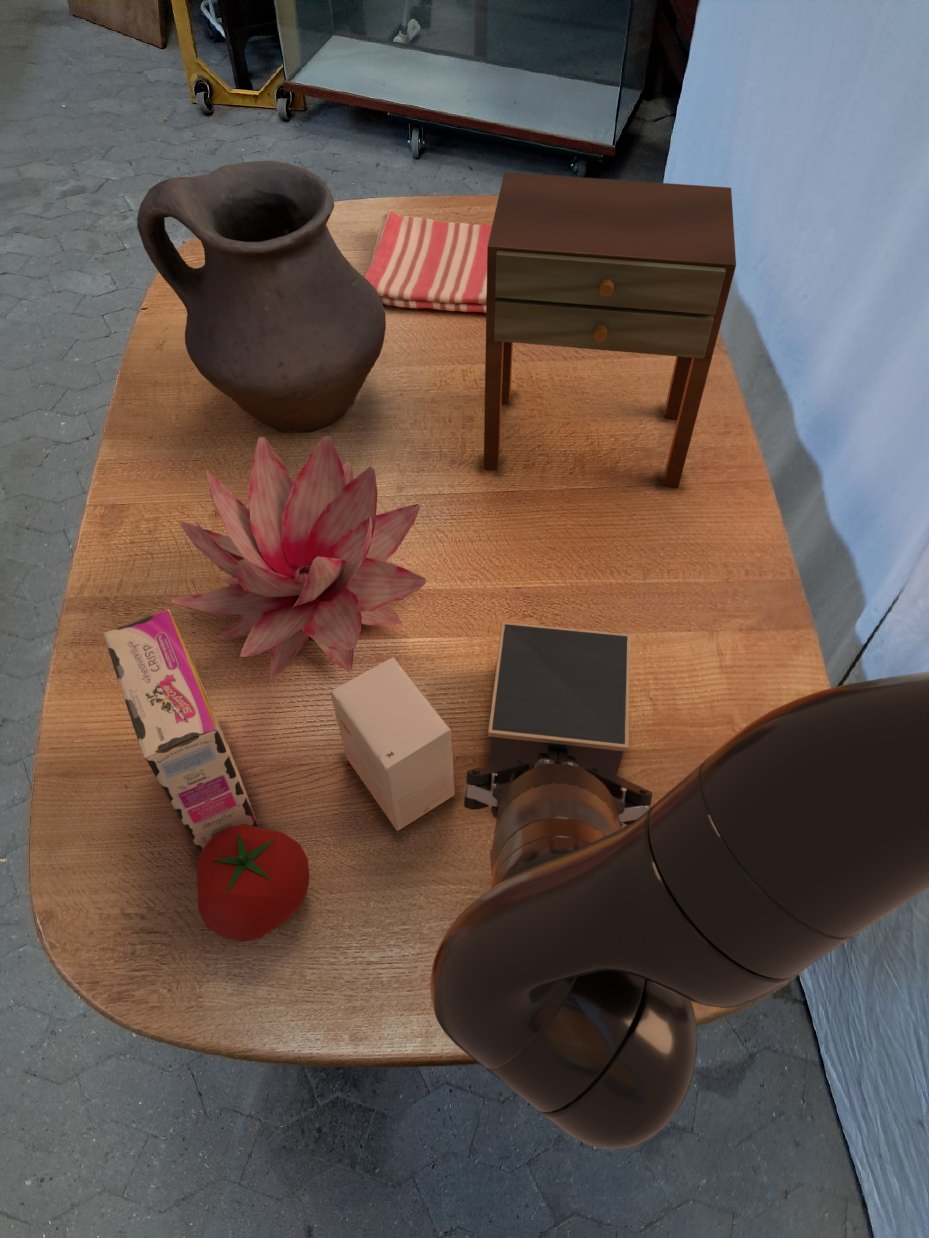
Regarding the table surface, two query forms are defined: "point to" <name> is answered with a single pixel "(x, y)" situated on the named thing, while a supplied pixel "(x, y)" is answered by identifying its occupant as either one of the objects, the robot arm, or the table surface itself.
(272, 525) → the decorative flower
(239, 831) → the tomato
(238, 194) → the pitcher
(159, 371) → the table surface
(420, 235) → the dish towel
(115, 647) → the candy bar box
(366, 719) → the small box
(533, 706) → the storage box
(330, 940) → the table surface
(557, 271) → the drawer unit
